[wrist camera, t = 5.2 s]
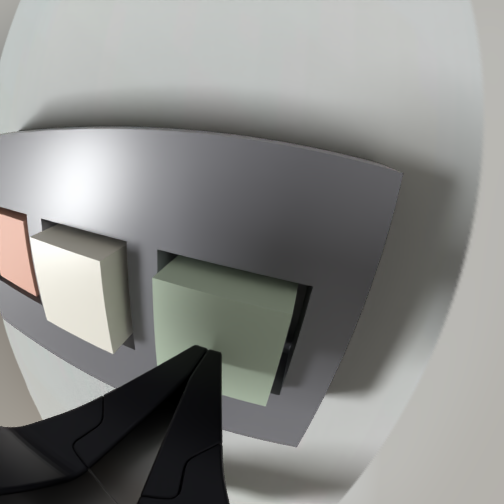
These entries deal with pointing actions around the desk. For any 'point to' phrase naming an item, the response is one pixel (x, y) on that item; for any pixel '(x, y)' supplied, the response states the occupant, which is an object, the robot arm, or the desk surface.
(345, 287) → the keyguard
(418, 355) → the desk surface
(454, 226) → the desk surface
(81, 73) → the desk surface
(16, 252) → the terracotta key
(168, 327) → the sage key
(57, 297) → the cream key
